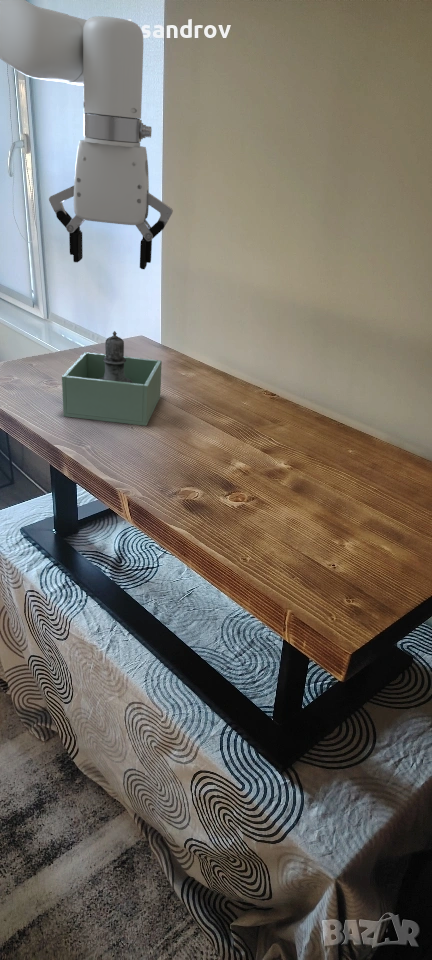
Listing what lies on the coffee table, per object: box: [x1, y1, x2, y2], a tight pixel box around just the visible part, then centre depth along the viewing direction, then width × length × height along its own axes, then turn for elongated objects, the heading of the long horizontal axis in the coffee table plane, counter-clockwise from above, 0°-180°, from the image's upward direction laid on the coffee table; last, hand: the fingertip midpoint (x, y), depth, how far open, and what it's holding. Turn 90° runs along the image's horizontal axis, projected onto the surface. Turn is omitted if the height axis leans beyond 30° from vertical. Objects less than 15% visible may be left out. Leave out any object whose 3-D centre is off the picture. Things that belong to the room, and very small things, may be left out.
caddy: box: [61, 351, 163, 427], centre depth 101 cm, size 13×12×7 cm
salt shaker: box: [99, 330, 133, 383], centre depth 100 cm, size 6×6×12 cm
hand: (110, 264), depth 92 cm, fingers open, 9 cm apart
